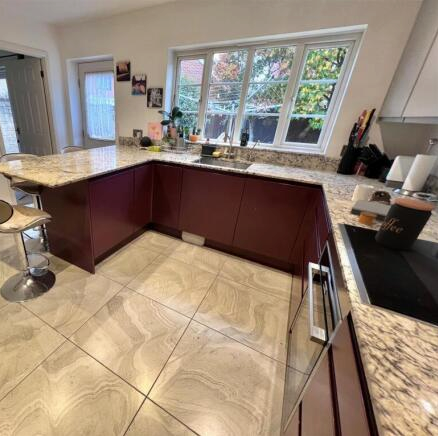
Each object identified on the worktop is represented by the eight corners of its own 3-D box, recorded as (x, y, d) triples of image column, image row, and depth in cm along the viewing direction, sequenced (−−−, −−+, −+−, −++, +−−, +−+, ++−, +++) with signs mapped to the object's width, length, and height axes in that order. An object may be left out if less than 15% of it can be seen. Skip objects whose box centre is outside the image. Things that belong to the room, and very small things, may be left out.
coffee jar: (368, 236, 99) (388, 196, 92) (398, 240, 97) (421, 200, 89) (383, 248, 90) (406, 205, 82) (417, 253, 87) (444, 210, 80)
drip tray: (391, 214, 124) (394, 208, 122) (389, 224, 111) (392, 218, 110) (355, 205, 134) (357, 200, 132) (349, 214, 121) (351, 208, 120)
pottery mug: (394, 207, 136) (395, 196, 132) (373, 211, 140) (374, 200, 136) (383, 195, 145) (384, 185, 141) (364, 200, 149) (364, 189, 145)
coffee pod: (374, 227, 108) (379, 217, 106) (360, 225, 109) (364, 215, 107) (367, 222, 113) (372, 212, 111) (354, 220, 114) (358, 210, 112)
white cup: (369, 204, 136) (377, 188, 132) (353, 202, 138) (360, 186, 134) (362, 200, 143) (370, 185, 139) (347, 198, 145) (354, 183, 141)
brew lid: (397, 208, 121) (397, 207, 121) (395, 218, 109) (396, 216, 109) (357, 200, 132) (358, 199, 132) (352, 208, 120) (352, 207, 119)
